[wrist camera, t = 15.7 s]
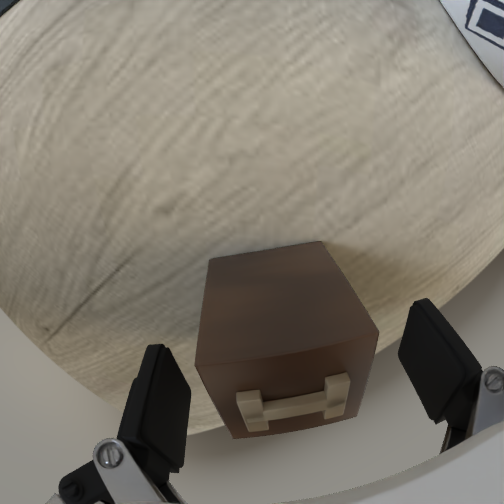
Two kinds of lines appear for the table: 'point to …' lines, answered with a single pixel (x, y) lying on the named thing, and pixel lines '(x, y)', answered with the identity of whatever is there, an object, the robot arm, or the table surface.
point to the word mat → (6, 5)
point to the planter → (482, 30)
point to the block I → (283, 341)
